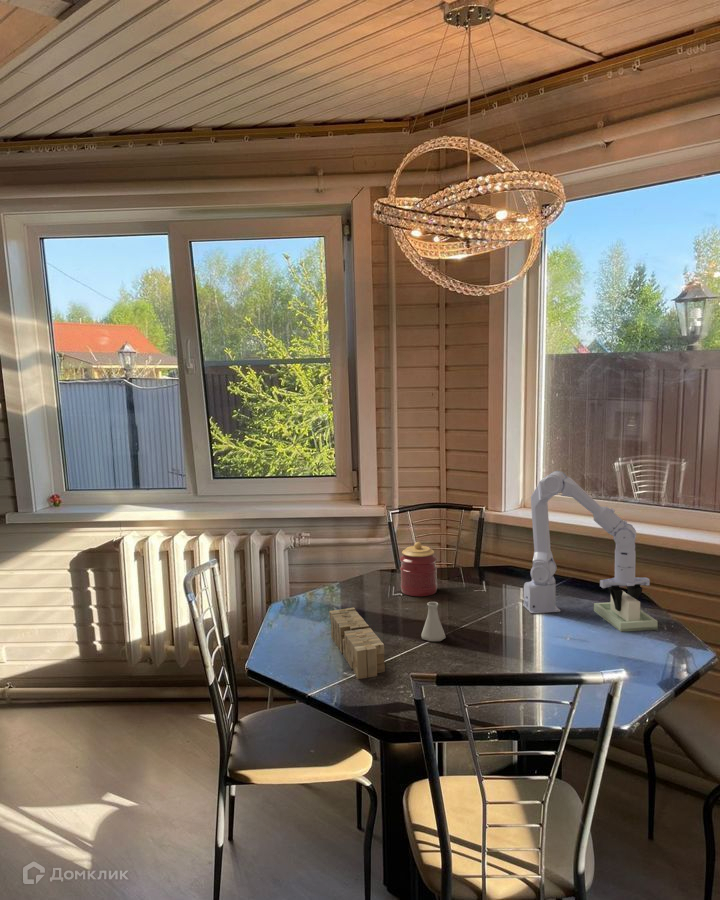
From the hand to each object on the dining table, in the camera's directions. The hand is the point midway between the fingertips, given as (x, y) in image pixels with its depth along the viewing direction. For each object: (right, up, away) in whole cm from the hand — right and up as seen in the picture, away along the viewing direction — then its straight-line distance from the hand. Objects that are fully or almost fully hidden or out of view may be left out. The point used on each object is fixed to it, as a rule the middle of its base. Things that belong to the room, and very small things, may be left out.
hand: (624, 609), depth 189 cm
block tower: (-80, -8, -18) cm, 83 cm away
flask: (-58, -6, -8) cm, 59 cm away
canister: (-59, -2, +33) cm, 67 cm away
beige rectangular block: (0, -2, 0) cm, 2 cm away
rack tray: (0, -3, 0) cm, 3 cm away
